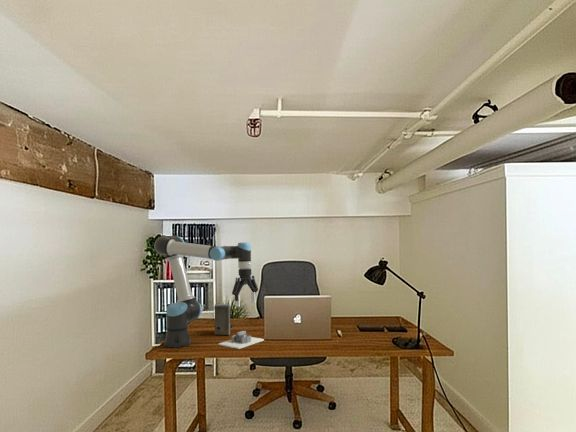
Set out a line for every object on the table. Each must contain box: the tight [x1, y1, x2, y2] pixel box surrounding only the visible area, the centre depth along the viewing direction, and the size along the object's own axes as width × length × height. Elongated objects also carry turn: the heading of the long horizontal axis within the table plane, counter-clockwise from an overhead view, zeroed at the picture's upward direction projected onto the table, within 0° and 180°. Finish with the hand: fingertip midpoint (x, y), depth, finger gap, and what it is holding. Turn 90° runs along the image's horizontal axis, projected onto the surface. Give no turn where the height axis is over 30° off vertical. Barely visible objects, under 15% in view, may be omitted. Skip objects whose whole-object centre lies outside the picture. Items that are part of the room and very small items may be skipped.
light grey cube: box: [235, 330, 248, 343], centre depth 252 cm, size 6×6×6 cm
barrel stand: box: [217, 334, 265, 350], centre depth 252 cm, size 22×16×4 cm
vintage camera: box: [213, 303, 235, 336], centre depth 279 cm, size 10×16×20 cm, turn 174°
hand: (245, 304), depth 254 cm, fingers open, 13 cm apart
